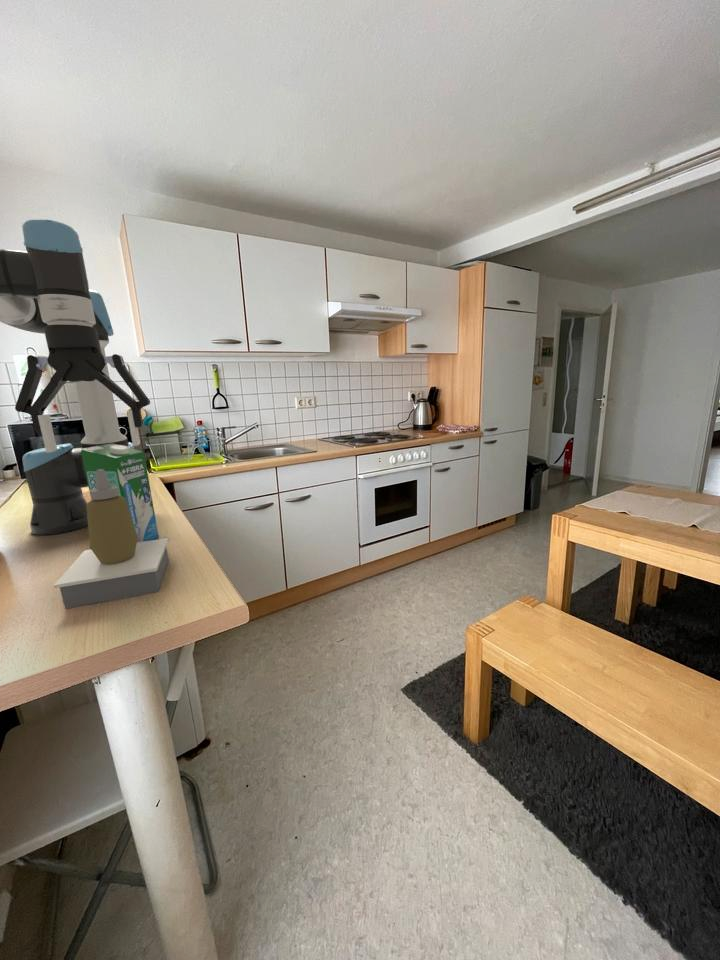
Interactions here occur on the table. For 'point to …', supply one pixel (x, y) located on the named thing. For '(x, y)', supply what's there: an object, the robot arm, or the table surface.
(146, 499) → the milk carton
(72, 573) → the display podium
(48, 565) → the table surface
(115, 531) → the squeeze bottle
